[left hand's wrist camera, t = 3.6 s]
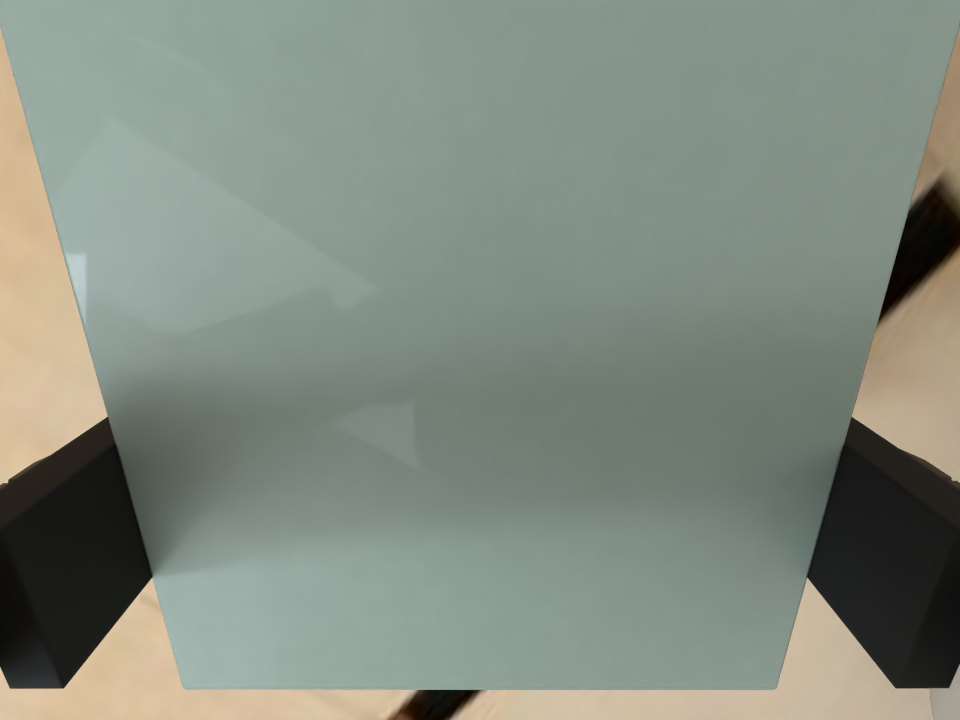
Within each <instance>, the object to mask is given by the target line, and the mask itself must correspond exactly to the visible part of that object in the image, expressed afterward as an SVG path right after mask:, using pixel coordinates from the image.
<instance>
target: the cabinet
mask: <svg viewBox="0 0 960 720" xmlns="http://www.w3.org/2000/svg"><path fill="white" fill-rule="evenodd" d="M959 26H960V0H0V28H1V31H2V35H3V38H4V42H5V46H6V49H7V53H8V56H9V60H10V64H11V67H12V71H13V75H14V78H15V82H16V85H17V89H18V93H19V96H20V100H21V104H22V107H23V111H24V114H25V118H26V122H27V125H28V129H29V132H30V136H31V140H32V143H33V147H34V151H35V154H36V158H37V161H38V165H39V169H40V172H41V176H42V179H43V183H44V187H45V190H46V194H47V198H48V201H49V205H50V208H51V212H52V216H53V219H54V223H55V227H56V230H57V234H58V237H59V241H60V245H61V248H62V252H63V255H64V259H65V263H66V266H67V270H68V274H69V277H70V281H71V284H72V288H73V292H74V295H75V299H76V303H77V306H78V310H79V313H80V317H81V321H82V324H83V328H84V331H85V335H86V339H87V342H88V346H89V350H90V353H91V357H92V360H93V364H94V368H95V371H96V375H97V379H98V382H99V386H100V389H101V393H102V397H103V400H104V404H105V407H106V411H107V415H108V418H109V422H110V426H111V429H112V433H113V436H114V440H115V444H116V447H117V451H118V455H119V458H120V462H121V465H122V469H123V473H124V476H125V480H126V483H127V487H128V491H129V494H130V498H131V502H132V505H133V509H134V512H135V516H136V520H137V523H138V527H139V531H140V534H141V538H142V541H143V545H144V549H145V552H146V556H147V559H148V563H149V567H150V570H151V574H152V578H153V581H154V585H155V588H156V592H157V596H158V599H159V603H160V606H161V610H162V614H163V617H164V621H165V625H166V628H167V632H168V635H169V639H170V643H171V646H172V650H173V654H174V657H175V661H176V664H177V668H178V672H179V675H180V679H181V682H182V686H183V688H184V689H338V690H774V689H776V688H777V684H778V681H779V677H780V674H781V670H782V666H783V663H784V659H785V655H786V652H787V648H788V645H789V641H790V637H791V634H792V630H793V627H794V623H795V619H796V616H797V612H798V608H799V605H800V601H801V598H802V594H803V590H804V587H805V583H806V579H807V576H808V572H809V569H810V565H811V561H812V558H813V554H814V551H815V547H816V543H817V540H818V536H819V532H820V529H821V525H822V522H823V518H824V514H825V511H826V507H827V504H828V500H829V496H830V493H831V489H832V485H833V482H834V478H835V475H836V471H837V467H838V464H839V460H840V456H841V453H842V449H843V446H844V442H845V438H846V435H847V431H848V428H849V424H850V420H851V417H852V413H853V409H854V406H855V402H856V399H857V395H858V391H859V388H860V384H861V380H862V377H863V373H864V370H865V366H866V362H867V359H868V355H869V352H870V348H871V344H872V341H873V337H874V333H875V330H876V326H877V323H878V319H879V315H880V312H881V308H882V305H883V301H884V297H885V294H886V290H887V286H888V283H889V279H890V276H891V272H892V268H893V265H894V261H895V257H896V254H897V250H898V247H899V243H900V239H901V236H902V232H903V229H904V225H905V221H906V218H907V214H908V210H909V207H910V203H911V200H912V196H913V192H914V189H915V185H916V181H917V178H918V174H919V171H920V167H921V163H922V160H923V156H924V153H925V149H926V145H927V142H928V138H929V134H930V131H931V127H932V124H933V120H934V116H935V113H936V109H937V106H938V102H939V98H940V95H941V91H942V87H943V84H944V80H945V77H946V73H947V69H948V66H949V62H950V58H951V55H952V51H953V48H954V44H955V40H956V37H957V33H958V30H959Z"/></svg>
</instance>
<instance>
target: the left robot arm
mask: <svg viewBox="0 0 960 720" xmlns="http://www.w3.org/2000/svg"><path fill="white" fill-rule="evenodd" d="M8 481H9V482H8V483H3V484H1V485H0V667H1V669H2V671H3V674H4V676H5V678H6V681H7V683H8V685H9V687H10V689H30V688H64V687H65V686H66V685H67V684H68V682H69V681H70V680H71V679H72V677H73V676H74V675H75V674H76V672H77V671H78V670H79V669H80V667H81V666H82V665H83V664H84V662H85V661H86V660H87V659H88V657H89V656H90V655H91V653H92V652H93V651H94V650H95V648H96V647H97V646H98V645H99V643H100V642H101V641H102V640H103V638H104V637H105V636H106V635H107V633H108V632H109V631H110V630H111V628H112V627H113V626H114V625H115V623H116V622H117V621H118V620H119V618H120V617H121V616H122V615H123V613H124V612H125V611H126V610H127V608H128V607H129V606H130V605H131V603H132V602H133V601H134V599H135V598H136V597H137V596H138V594H139V593H140V592H141V591H142V589H143V588H144V587H145V586H146V584H147V583H148V582H149V581H150V579H151V578H152V574H151V570H150V567H149V563H148V559H147V556H146V552H145V549H144V545H143V541H142V538H141V534H140V531H139V527H138V523H137V520H136V516H135V512H134V509H133V505H132V502H131V498H130V494H129V491H128V487H127V483H126V480H125V476H124V473H123V469H122V465H121V462H120V458H119V455H118V451H117V447H116V444H115V440H114V436H113V433H112V429H111V426H110V422H109V418H108V417H107V418H105V419H104V420H102V421H101V422H99V423H98V424H96V425H95V426H93V427H92V428H90V429H89V430H87V431H86V432H85V433H83V434H82V435H80V436H79V437H77V438H76V439H74V440H73V441H71V442H70V443H68V444H67V445H65V446H64V447H62V448H61V449H59V450H58V451H56V452H55V453H53V454H52V455H50V456H48V457H46V458H44V459H41V460H39V461H37V462H35V463H33V464H31V465H30V466H28V467H27V468H25V469H24V470H22V471H21V472H19V473H18V474H16V475H15V476H13V477H12V478H10V479H9V480H8ZM807 578H808V579H809V580H810V581H811V583H812V584H813V585H814V586H815V588H816V589H817V590H818V591H819V593H820V594H821V595H822V596H823V598H824V599H825V600H826V601H827V603H828V604H829V605H830V606H831V608H832V609H833V610H834V612H835V613H836V614H837V615H838V617H839V618H840V619H841V620H842V622H843V623H844V624H845V625H846V627H847V628H848V629H849V630H850V632H851V633H852V634H853V635H854V637H855V638H856V639H857V640H858V642H859V643H860V644H861V645H862V647H863V648H864V649H865V650H866V652H867V653H868V654H869V655H870V657H871V658H872V659H873V661H874V662H875V663H876V664H877V666H878V667H879V668H880V669H881V671H882V672H883V673H884V674H885V676H886V677H887V678H888V679H889V681H890V682H891V683H892V684H893V686H894V687H895V688H950V685H951V683H952V681H953V678H954V676H955V674H956V672H957V669H958V667H959V665H960V483H959V482H957V481H952V479H951V477H950V476H948V475H947V474H945V473H944V472H942V471H941V470H939V469H938V468H936V467H935V466H933V465H932V464H930V463H929V462H927V461H926V460H923V459H921V458H919V457H917V456H914V455H912V454H910V453H908V452H905V451H903V450H901V449H899V448H897V447H896V446H894V445H893V444H891V443H890V442H888V441H887V440H885V439H884V438H882V437H881V436H879V435H878V434H876V433H875V432H873V431H872V430H870V429H869V428H867V427H866V426H864V425H863V424H862V423H860V422H859V421H857V420H856V419H854V418H853V417H851V420H850V424H849V428H848V431H847V435H846V438H845V442H844V446H843V449H842V453H841V456H840V460H839V464H838V467H837V471H836V475H835V478H834V482H833V485H832V489H831V493H830V496H829V500H828V504H827V507H826V511H825V514H824V518H823V522H822V525H821V529H820V532H819V536H818V540H817V543H816V547H815V551H814V554H813V558H812V561H811V565H810V569H809V572H808V576H807Z"/></svg>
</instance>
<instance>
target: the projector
mask: <svg viewBox="0 0 960 720" xmlns="http://www.w3.org/2000/svg"><path fill="white" fill-rule="evenodd" d="M930 700H931V706H932V712H933V718H934V720H960V665H959V667H958V669H957V672H956V674H955V676H954V678H953V681H952V683H951V685H950V688H930Z"/></svg>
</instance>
